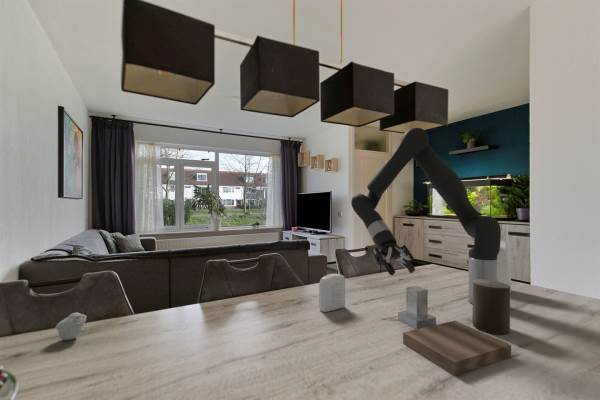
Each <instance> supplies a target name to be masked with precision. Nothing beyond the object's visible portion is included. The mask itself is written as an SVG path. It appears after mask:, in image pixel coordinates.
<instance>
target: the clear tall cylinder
mask: <svg viewBox="0 0 600 400" xmlns="http://www.w3.org/2000/svg"><path fill="white" fill-rule="evenodd" d="M497 279H498V282H502V283H505V284H508V285H510V293H511V292H512V280H511V279H512V278H511V262H510V249H509V243H508V242H507V240H506V238H505V235H504V233H503V231H502V230H501V240H500V251H499V253H498V255H497Z"/></svg>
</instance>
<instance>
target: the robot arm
mask: <svg viewBox="0 0 600 400" xmlns="http://www.w3.org/2000/svg"><path fill="white" fill-rule="evenodd" d="M412 159H414V161H415V162H416V163H417V164H418V166H419V167H420V168H421V170H422V172H423V173H424V175H425V176H426V178H427V179H428V181H429V182H430V184H431V186H432V187H433V188H434V190H435V191H436V192H437V193H438V195H439V196H440V197H441V198H442V199H443V201H444V202H445V203H446V204H447V206H448V207H449V208H450V209H451V211H452V212H453V214H454V215H455V216H456V218H457V219H458V221H459V223H460V224H461V226H462V227H463V230H464V231H465V232H466V234H467V235H468V236H469V237H470V238H473V239H474V240H473V241H474V242H473V247H472V248H470V249H469V250H468V302H469V303H470V304H471V305H473V281H474V280H490V279H491V280H492V281H497V282H498V279H497V255H498V253H499V251H500V240H501V231H502V229H501V224H500V223H499V221H498V220H497V219H496V218H494V217H492V216H489V215H482V214H481V213H479V211H478V210H477V209H476V208H475V207H474V206H473V205H472V203H471V201H470V199H469V197H468V191H467V188H466V186H465V184H464V182H463V181H462V180H461V178H460V177H459V175H458V174H457V173H456V171H454V169H453V168H452V167H451V166H450V165H449V164H448V163H447V162H446V161H444V160H443V159H442V158H441V157H440V156H439V155H438V154H437V153H436V151H434V149H433V147H432V146H431V145H430V143H429V135H428V132H427V131H426V130H424V129H423V128H421V127H412V128H409V129H408V130H406V131H405V132H403V134H402V137H401V138H400V143H399V145H398V147H397V148H396V150H395V151H394V153H393V154H392V155H391V157H390V158H389V159H388V160H387V161H386V162H385V163H384V165H382V167H381V168H380V169H379V170H378V171H377V172H376V173H375V175H374V176H373V177H372V178H371V180H370V181H369V182H368V184H367V186H366V187H367V189H368V194H367V195H365V194H364V193H356V194H354V195H353V196H352V198H351V201H350V202H351V203H350V204H351V207H352V209H353V211H354V212H355V213H356V215H357V216H358V218H359V219H360V220H362V222H363V224H364V226H365V228H366V230H367V232H368V235H369V236H370V238H371V240H372V242H373V244H374V245H375V248H374V249H373V251H372V255H373V257H374V258H375V261H376V263H377V265H378V266H383V267H385V269H386V272H387V273H388V274H389V275H390V276H395V274H396V270H395V268H394V267H393V265H392V263H391V262H390V261H391V260H392V261H393V260H397V261H399V262H401V263H404V264H405V265H404V266H405V267H406V269H407V271H408V272H409V274H413V273H414V272H415V271H416V268H415V266H414V264H413V263H412V261H413V260H414V258H415V257H414V256H413V254H412V253H411V251H410V250H409V248H408V246H406V245H404V244H403V245H401V246H399V245H398V244H397V243H398V242H397V239H396V237H395V236H394V234H393V232H392V231H391V229H390V227H389V226H388V225H387V224H386V222H385V221H384V219H383V217H382V216H381V214H380V212H378V211H377V210H376V208H377V207H378V204H379V202H380V201H381V199H382V196H383V195H384V193H385V192H386V190H387V189H388V188H389V187H390V186H391V184H392V183H393V182H394V181H395V180H396V178H397V177H398V175H399V174H401V173H400V172H401V171H402V170H403V169H404V168H405V166H407V165H408V164H409V163H410V161H411V160H412Z"/></svg>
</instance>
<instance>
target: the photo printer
mask: <svg viewBox="0 0 600 400" xmlns="http://www.w3.org/2000/svg"><path fill="white" fill-rule="evenodd" d="M318 288H319V289H318V290H319V292H318V293H319V294H318V295H319V297H318V299H319V300H318V304H319V305H318V308H319V311H320V312H322V313H327V312H331V311H335V310H339V309H343V308H345V307H346V277H345V276H344V275H342V274H339V273H329V274H327V275H324V276H322V278H320V280H319V286H318Z"/></svg>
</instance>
